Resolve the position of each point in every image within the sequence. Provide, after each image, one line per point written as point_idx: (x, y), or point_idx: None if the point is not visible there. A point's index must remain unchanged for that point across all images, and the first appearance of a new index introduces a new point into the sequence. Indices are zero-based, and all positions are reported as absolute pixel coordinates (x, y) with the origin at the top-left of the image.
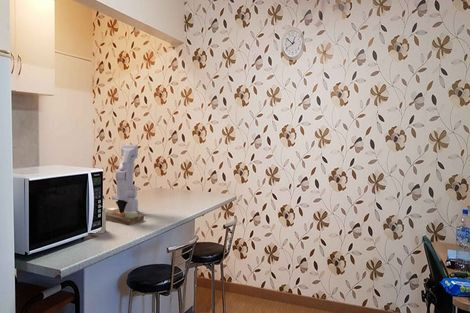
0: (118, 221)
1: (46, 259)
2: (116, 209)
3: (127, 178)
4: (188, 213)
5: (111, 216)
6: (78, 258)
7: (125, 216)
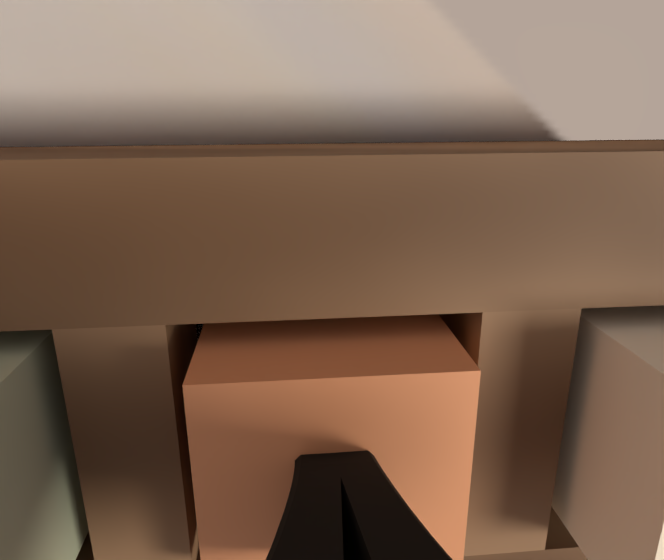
0: (140, 147)
1: None
2: (645, 552)
3: None
4: None
5: (449, 154)
6: None
7: (9, 362)
